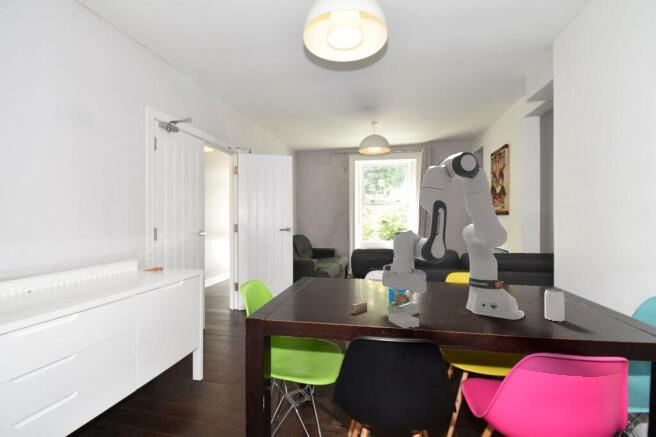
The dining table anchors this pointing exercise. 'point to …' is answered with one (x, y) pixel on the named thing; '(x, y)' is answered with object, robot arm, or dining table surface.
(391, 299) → the mug
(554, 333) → the dining table surface
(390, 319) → the slab
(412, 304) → the cradle
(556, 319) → the can
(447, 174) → the robot arm
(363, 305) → the wooden brick
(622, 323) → the dining table surface
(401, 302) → the roller
